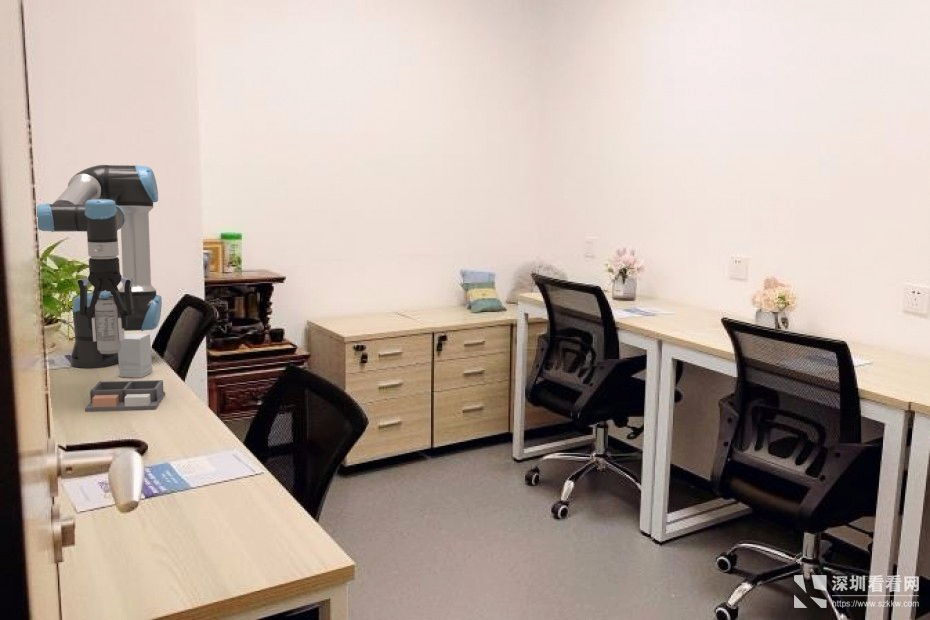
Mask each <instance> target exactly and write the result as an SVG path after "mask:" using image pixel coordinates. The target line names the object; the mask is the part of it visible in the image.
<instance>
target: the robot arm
mask: <svg viewBox="0 0 930 620" xmlns="http://www.w3.org/2000/svg"><path fill="white" fill-rule="evenodd" d="M157 185H158V184H157V180H156V176H155V172H154V171H153V168H152V167H149V166H145V165H130V164H129V165H123V164H122V165H121V164H120V165H118V164H117V165H115V164H113V165H112V164H108V165H107V164H98V165H94V166H91V167H88V168H84V169H83V170H80V171H79V172H77V173H76V174H74V175H73V176H72V177H71V178H69V181H68V183H67V188H65V190H64V191H63V192H62V193H61V194H60V195H59V196H58V197H57V199H55V201H54V202H53V203H52V204H51V203H40V204H38V205H36V207H37V217H38V228H37V229H38V230H39V231H42V232H51V233H55V232H59V233H61V232H68V233H69V232H84V233H85V232H86V237H87V239H86V241H87V243H86V244H87V252H88V253H87V254H88V256H89V258H88V271H89V273H88V276H87V277H86V278H80V279H78V280H77V285H78V287H79V295H78V296H75V297H74V298H73V301H72V316H73V317H72V318H73V319H72V320H73V328H74V329H73V330H74V345H73V347H72V350H71V354H70V365H71V366H73V367H75V368H80V369H81V368H83V369H93V368H104V367H109V366H113V365H116V364H119V360H118V353H113V354H102V353H100V351H99V350H98V348H97V333H96V318H95V304H96V302H97V299H98V298H103V297H113V298H114V301H115V303H116V306H117V308H118V311H119V316H120V317H118V329H119V341H123V340H124V339H125V337H124V335H125V332H127V331H128V332H129V331H130V332H132V331H135V332H136V331H139V332H140V331H141V332H144V331H154V330H155V329H157V327H159V324H160V319H161V314H162V305H163V303H162V300H163V299H162V296H161V295H160V294H157V289H156V288H155V287H154V286H153V285H152V277H151V275H152V274H151V272H152V271H151V247H150V246H151V245H150V243H151V241H150V240H151V239H150V218H149V215H150V214H149V213H150V212H151V210H153V209H154V203H157V202H159V190H158V189H159V188H158V186H157ZM118 230H120V238H121V239H120V242H121V263H122V265H121V267H122V274H121V271H120V269H121V268H120V258H119V257H118V256H119V254H120V253H119V252H120V251H119V242H118V241H119V240H118V239H119V237H118ZM89 283H90V284H91V285H92V286H93V291H92V292H88V286H89ZM120 283H122V286H121V287H120V288H118V286H119V285H120Z"/></svg>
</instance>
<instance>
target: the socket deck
mask: <svg viewBox="0 0 930 620" xmlns="http://www.w3.org/2000/svg"><path fill="white" fill-rule="evenodd" d="M89 393H90V394H89V396H90V402H89V403H88V404H87V405H86V406H85V407H84V411H85V412H108V411H109V412H110V411H111V412H112V411H114V412H115V411H116V412H117V411H142V410H143V411H145V410H147V411H149V410H157V408H158V407H159V406H160V404H159V403H162V401H161V400H163V399H164V398H165V397H166V391H164V380H162V379H161V380H159V379H157V380H155V379H154V380H153V379H152V380H148V379H147V380H116V381H115V380H113V381H112V380H111V381H110V380H109V381H98V382H97V383H96V385H94V386H93V388H92V389H90V391H89ZM163 397H164V398H163Z"/></svg>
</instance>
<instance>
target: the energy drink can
mask: <svg viewBox="0 0 930 620" xmlns="http://www.w3.org/2000/svg"><path fill="white" fill-rule="evenodd" d="M118 317H120V316H119V311H118V308H117V306H116V303H115V301H114V298H113V297H103V298H98V299H97V302H96V304H95V318H96V333H97V348H98V350H99V351H100V353H102V354H113V353H118V352H119V350H120V349H121V341H119V329H118Z"/></svg>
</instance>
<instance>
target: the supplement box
mask: <svg viewBox="0 0 930 620" xmlns="http://www.w3.org/2000/svg"><path fill="white" fill-rule="evenodd" d="M124 337H125V339H124V340H123V341H121V349H120V350H119V352H118V360H119V363H118V370H119V373H118V374H119V378H134V379H135V378H137V379H142V378H144V377H146V376H148V375H149V374H152V373H153V364H152V362H153V361H152V360H153V359H152V349H151V348H152V347H151V343H152V342H151V334H150V333H134V332H130V333H126V334H124Z"/></svg>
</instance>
